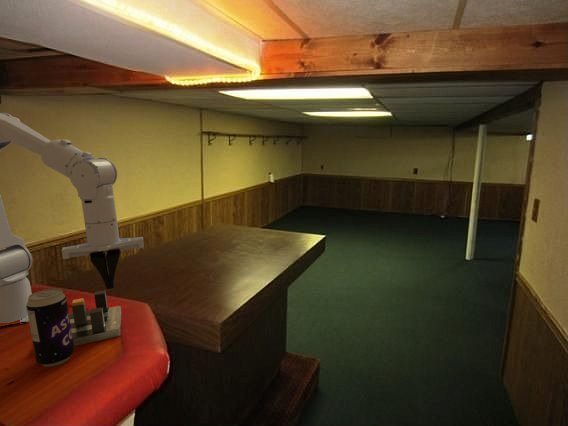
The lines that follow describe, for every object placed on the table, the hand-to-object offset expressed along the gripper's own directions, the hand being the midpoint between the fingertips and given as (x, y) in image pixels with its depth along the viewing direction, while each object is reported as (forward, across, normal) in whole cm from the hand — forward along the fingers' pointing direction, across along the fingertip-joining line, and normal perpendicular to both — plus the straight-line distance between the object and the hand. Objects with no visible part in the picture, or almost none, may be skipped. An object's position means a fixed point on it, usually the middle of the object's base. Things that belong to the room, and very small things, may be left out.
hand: (110, 287), depth 76 cm
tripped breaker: (+6, -6, 0) cm, 9 cm away
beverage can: (+8, -9, -10) cm, 16 cm away
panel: (+8, -6, 0) cm, 10 cm away
